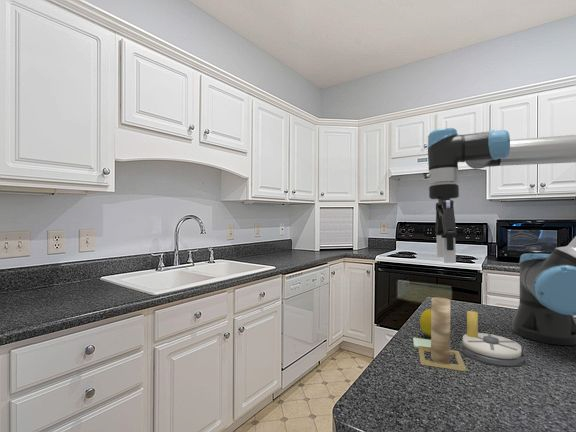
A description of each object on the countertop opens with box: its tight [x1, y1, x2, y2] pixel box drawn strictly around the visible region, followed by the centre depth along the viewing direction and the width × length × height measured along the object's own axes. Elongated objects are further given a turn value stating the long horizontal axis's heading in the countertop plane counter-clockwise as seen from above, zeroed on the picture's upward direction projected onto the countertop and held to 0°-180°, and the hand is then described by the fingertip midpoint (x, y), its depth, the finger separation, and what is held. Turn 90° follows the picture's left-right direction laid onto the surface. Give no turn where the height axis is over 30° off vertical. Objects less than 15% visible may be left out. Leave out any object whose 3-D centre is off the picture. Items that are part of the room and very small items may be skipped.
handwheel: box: [462, 310, 523, 359], centre depth 77 cm, size 12×12×8 cm
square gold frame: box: [417, 346, 467, 372], centre depth 74 cm, size 9×9×1 cm
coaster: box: [412, 337, 431, 349], centre depth 82 cm, size 6×6×1 cm
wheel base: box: [460, 340, 525, 368], centre depth 77 cm, size 13×13×1 cm
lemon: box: [419, 308, 431, 338], centre depth 88 cm, size 6×6×8 cm
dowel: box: [430, 296, 451, 363], centre depth 74 cm, size 4×4×14 cm
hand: (445, 259), depth 89 cm, fingers open, 13 cm apart
